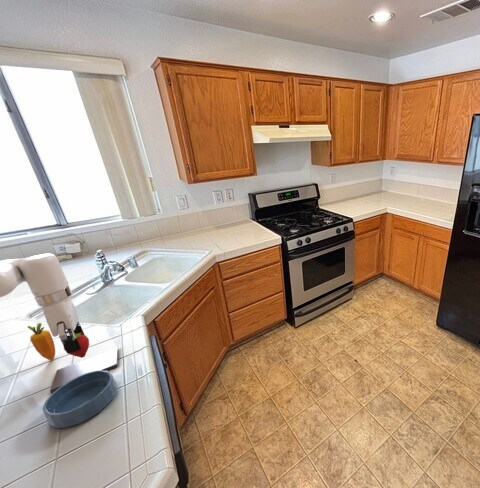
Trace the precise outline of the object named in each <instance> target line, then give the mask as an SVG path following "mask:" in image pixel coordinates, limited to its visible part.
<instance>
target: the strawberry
mask: <svg viewBox="0 0 480 488" xmlns="http://www.w3.org/2000/svg"><path fill="white" fill-rule="evenodd" d="M83 332H84V331H83ZM83 332H82V333H83ZM74 335H75V338H77V339H78V342H79V344H80V346H81V350H78V351H75V352H73V353H70V354H69V355H70V356H74V357H77V358H85V357H86V355H87V352H88V350H89V347H90V338H89V337H88V335H86V334H84V335H82V334H81V333H78V334H75V333H74ZM63 350H64V351H65V352H66V350H65V348H64V347H63Z"/></svg>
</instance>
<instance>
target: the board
mask: <svg viewBox="0 0 480 488" xmlns="http://www.w3.org/2000/svg"><path fill="white" fill-rule="evenodd" d="M118 367H119V348H118V347H115V348H112V349H110V350H108V351H105V352H102V353H99V354H97V355H94V356H91V357H88V358H86V359H83V360H81V361H78V362H74V363H72V364H70V365H67V366H64V367H61V368H58V369H57V370H56V371H55V374H54V377H53V379H52V384H51V386H50V389H49V392H50V393H51V394H52V393H54V392H55V391H56V390H57V389H58V388H60V387H61V386H63V385H64V384H66V383H67V382H69V381H71V380H73V379H74V378H76V377H78V376H81V375H83V374H86V373H89V372H93V371H98V370H106V371H111V370H113V369H116V368H118Z"/></svg>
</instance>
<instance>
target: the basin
mask: <svg viewBox="0 0 480 488" xmlns="http://www.w3.org/2000/svg"><path fill="white" fill-rule="evenodd" d="M117 392H118V385H117V382H116V380H115V377H114V376H113V373H112V372H111V371H110V370H108V371H106V370H98V371H93V372H89V373H86V374H83V375H81V376H78V377H76V378H74V379H73V380H71V381H69V382H67V383H66V384H64V385H63V386H61V387H60V388H58V389H57V390H56V391H55V392H53V393H51V394H50V395H49V396H48V398H47V399H46V400H45V401H44V402H43V406H42V412H43V414H44V416H45V418H46V419H47V421H48V423H49V425H50V426H51V427H54V428H56V429H65V428H69V427H73V426H76V425H78V424H81V423H83V422H85V421H87V420H89V419H91V418H92V417H94V416H95V415H96V414H98V413H99V412H101V411H102V410H103V409H105V408H106V406H108V405H109V404H110V402H111V401H112V400H113V399H114V398H115V395H116V394H117Z"/></svg>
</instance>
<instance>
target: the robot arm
mask: <svg viewBox="0 0 480 488" xmlns="http://www.w3.org/2000/svg"><path fill="white" fill-rule="evenodd" d="M25 282H26V283H27V286H28V287H29V290H30V292H31V294H32V296H33V298H34V299H35V302H36V304H37V306H38V307H41V308H42V311H43V315H44V318H45V321H46V323H47V326H48V328H49V332H50V334H51V336H52V337H54V338H55V337H57V336H58V338H59V339H60V342H61V344H62V346H63V349H64V348H65V350H66V351H65V350H64V351H65V352H66V354H67V355H70V353H73V352H75V351H78V350H81V346H80V344H79V342H78V339H77V338H75V335H74V333H75V334H78V333H81V334H82V335H85V332H84V329H83V328H82V326H81V325H80V324H81V323H80V322H79V314H78V311H77V309H76V307H75V304H74V302H73V300H72V297H73V296H74V293H73V291H72V289H71V287H70V284H69V282H68V280H67V277H66V274H65V272H64V271H63V268H62V266H61V263H60V261H59V259H58V257H57V256H56V255H55V254H54V253H41V254H36V255H32V256H29V257H24V258H23V257H22V258H11V259H10V258H9V259H2V260H0V298H3V297H6V296H8V295H9V294H11V293H12V292H13V291H14V290H15V289H16V288H17V287H18V286H19V285H21V284H23V283H25ZM82 332H83V333H82Z"/></svg>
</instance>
